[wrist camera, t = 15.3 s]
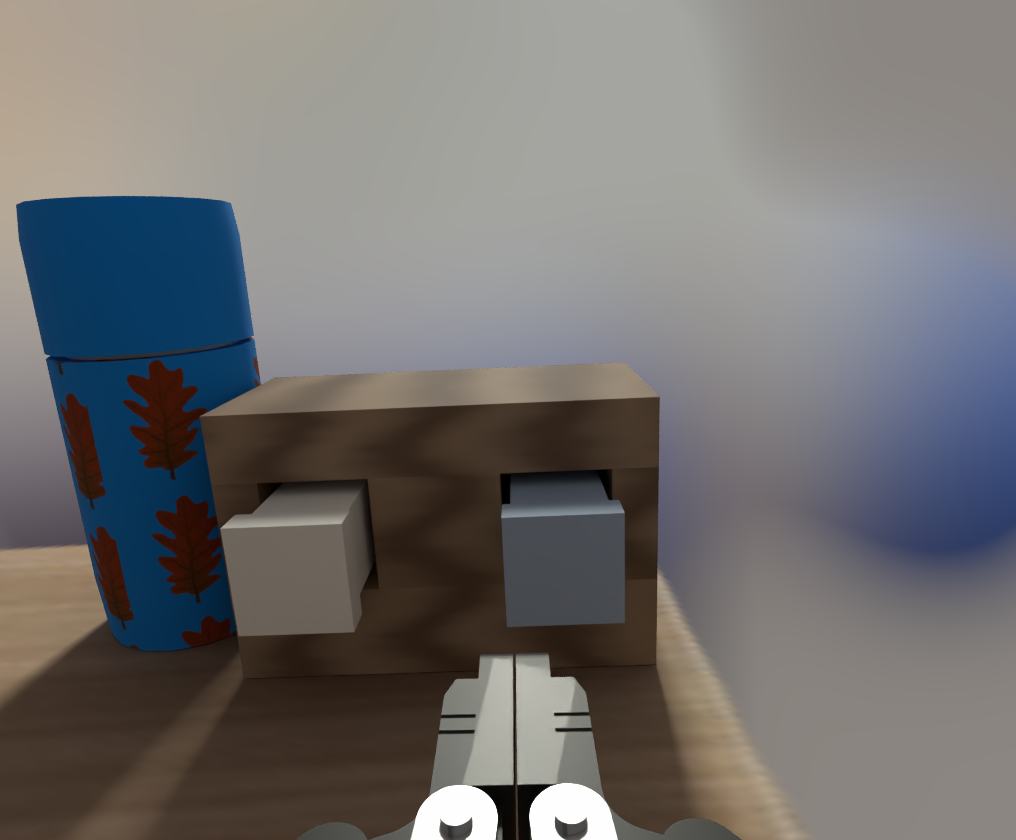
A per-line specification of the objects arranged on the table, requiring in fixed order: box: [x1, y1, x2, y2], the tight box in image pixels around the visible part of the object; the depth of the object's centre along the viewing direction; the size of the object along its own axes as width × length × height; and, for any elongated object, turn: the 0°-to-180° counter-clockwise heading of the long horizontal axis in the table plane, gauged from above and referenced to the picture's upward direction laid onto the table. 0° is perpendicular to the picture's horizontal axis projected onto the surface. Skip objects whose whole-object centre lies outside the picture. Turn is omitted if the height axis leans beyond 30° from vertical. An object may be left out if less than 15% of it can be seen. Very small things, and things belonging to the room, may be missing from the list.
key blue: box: [501, 470, 625, 627], centre depth 33 cm, size 5×12×5 cm, turn 0°
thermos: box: [16, 196, 261, 651], centre depth 39 cm, size 11×11×25 cm
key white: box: [220, 479, 376, 636], centre depth 34 cm, size 5×12×5 cm, turn 179°
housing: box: [200, 362, 660, 678], centre depth 37 cm, size 22×10×14 cm, turn 89°
